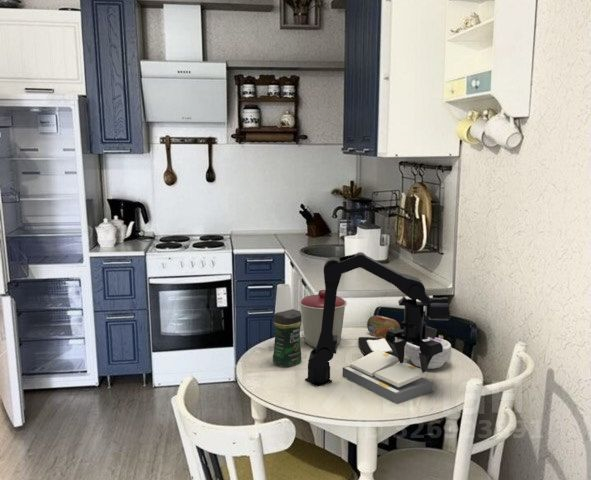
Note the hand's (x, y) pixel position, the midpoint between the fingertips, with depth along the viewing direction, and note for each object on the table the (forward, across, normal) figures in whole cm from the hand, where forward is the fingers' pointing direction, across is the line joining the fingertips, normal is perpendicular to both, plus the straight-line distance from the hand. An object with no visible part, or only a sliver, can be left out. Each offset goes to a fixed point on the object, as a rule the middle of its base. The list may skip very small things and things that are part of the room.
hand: (412, 368), depth 170 cm
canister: (+6, +47, -1) cm, 47 cm away
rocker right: (+1, 0, +5) cm, 5 cm away
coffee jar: (+6, +38, +21) cm, 44 cm away
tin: (+6, +39, -25) cm, 47 cm away
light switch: (+6, +30, -14) cm, 34 cm away
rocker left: (+1, +12, +5) cm, 13 cm away
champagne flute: (+6, +51, +14) cm, 53 cm away
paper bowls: (+6, +10, -18) cm, 21 cm away
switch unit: (+6, +6, +6) cm, 10 cm away
